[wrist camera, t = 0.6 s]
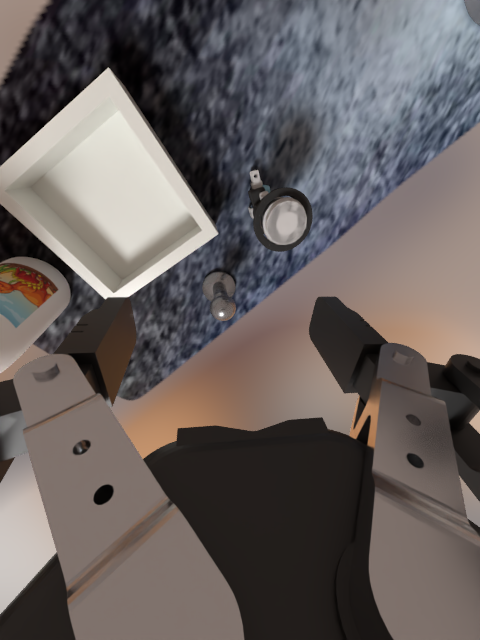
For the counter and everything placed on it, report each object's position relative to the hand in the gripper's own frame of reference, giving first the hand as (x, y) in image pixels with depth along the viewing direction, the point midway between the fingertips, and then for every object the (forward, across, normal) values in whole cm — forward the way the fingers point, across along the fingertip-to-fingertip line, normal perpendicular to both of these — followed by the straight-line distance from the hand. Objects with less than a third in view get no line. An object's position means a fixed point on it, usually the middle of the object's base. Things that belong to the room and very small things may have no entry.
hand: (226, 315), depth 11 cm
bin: (+22, +10, -1) cm, 24 cm away
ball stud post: (+22, -1, +8) cm, 24 cm away
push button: (+22, -6, -2) cm, 23 cm away
